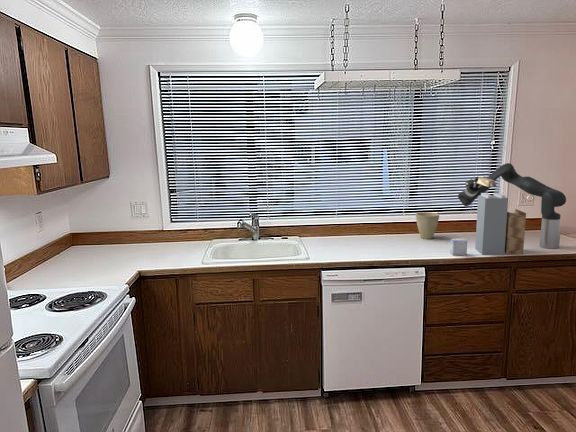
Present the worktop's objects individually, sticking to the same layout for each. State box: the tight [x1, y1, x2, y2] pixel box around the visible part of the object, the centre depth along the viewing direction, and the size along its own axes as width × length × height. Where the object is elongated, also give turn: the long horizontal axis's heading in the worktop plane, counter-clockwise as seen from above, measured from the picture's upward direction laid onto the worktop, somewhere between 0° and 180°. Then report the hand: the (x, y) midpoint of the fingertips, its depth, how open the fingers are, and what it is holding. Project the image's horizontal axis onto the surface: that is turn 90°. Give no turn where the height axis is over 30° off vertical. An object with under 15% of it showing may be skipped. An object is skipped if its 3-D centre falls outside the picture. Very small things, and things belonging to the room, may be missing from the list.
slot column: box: [474, 192, 509, 256], centre depth 246 cm, size 12×12×34 cm
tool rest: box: [504, 208, 527, 255], centre depth 247 cm, size 9×12×24 cm
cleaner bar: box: [476, 176, 497, 188], centre depth 257 cm, size 4×26×4 cm, turn 175°
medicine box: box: [449, 238, 468, 256], centre depth 245 cm, size 8×4×9 cm, turn 90°
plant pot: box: [415, 211, 440, 240], centre depth 285 cm, size 15×15×16 cm
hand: (481, 178), depth 266 cm, fingers closed on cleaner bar, 3 cm apart
